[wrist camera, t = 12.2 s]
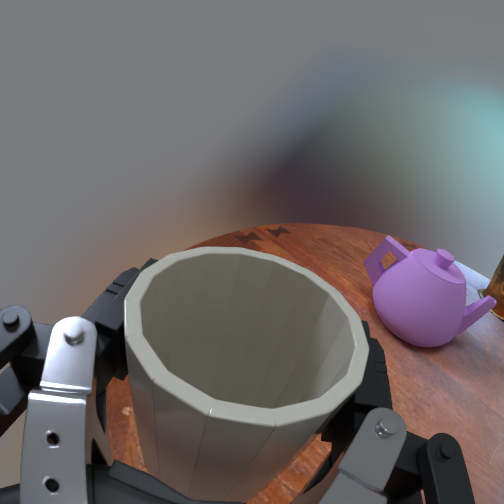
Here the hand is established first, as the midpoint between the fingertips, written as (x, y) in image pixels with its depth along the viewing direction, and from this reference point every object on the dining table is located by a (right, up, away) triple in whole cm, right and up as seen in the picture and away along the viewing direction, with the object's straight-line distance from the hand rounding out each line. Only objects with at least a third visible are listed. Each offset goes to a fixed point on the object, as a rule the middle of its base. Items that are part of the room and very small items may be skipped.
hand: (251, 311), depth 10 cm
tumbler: (-2, -7, +1) cm, 7 cm away
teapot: (+25, -9, +33) cm, 42 cm away
